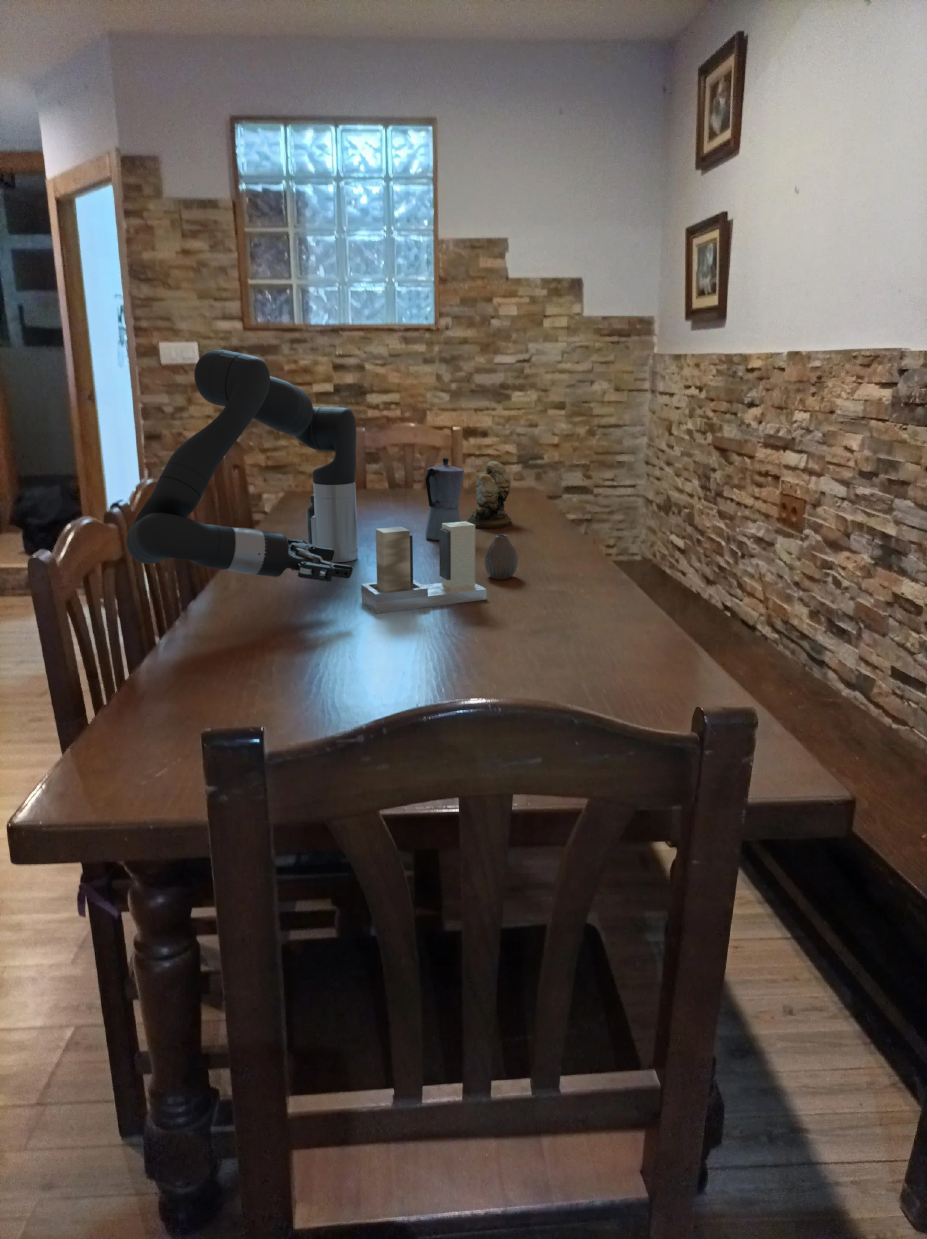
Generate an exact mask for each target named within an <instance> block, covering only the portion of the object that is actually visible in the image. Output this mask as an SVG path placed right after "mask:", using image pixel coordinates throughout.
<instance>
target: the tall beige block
mask: <svg viewBox="0 0 927 1239" xmlns="http://www.w3.org/2000/svg"><path fill="white" fill-rule="evenodd" d="M410 533H411V530H409V529H408V528H405V527H403V526H394V527H392V526H391V527H381V528H375V547H376V548H375V554H376V555H375V557H376V582H377V591H378V592H387V591H396V590H405V589H411V584H413V580H414V568H413V567H414V556H413V555H414V554H413V553H414V551H413V548H414V547H413V545H414V544H413V539H414V538H413V535H412V534H410Z"/></svg>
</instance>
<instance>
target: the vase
mask: <svg viewBox="0 0 927 1239" xmlns="http://www.w3.org/2000/svg"><path fill="white" fill-rule="evenodd" d="M518 563H519V556H518V552H517V549H516V548H515V546H514V545H513V543H512V542H511V541H510V538H509V537H508V535H506V534H496V535H495V537H494V539H493V540H492V541H491V543H490V545H488V547H487V549H486V551H485V554H484V567H485V571H486V573H487V574H488V575H489V576H490V578H492V579H495V580H508V579H511V578H512V577H513V576H514V574H516V571H517V569H518V565H519V564H518Z"/></svg>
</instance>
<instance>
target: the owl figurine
mask: <svg viewBox="0 0 927 1239" xmlns="http://www.w3.org/2000/svg"><path fill="white" fill-rule="evenodd" d="M507 472H508V471H507V469H506V468H505V465H503V464H502V463H501V462H499V461H497V460H491V461H489V462H488V463H487V464H486V466H485V471H484V473H480V474H479V475H478V476H477V480H476V488H475V489H474V490H475V494H476V503H477V506H476V508H475V510H474V511H472V514H471V516H470V517H469V518H468V519H467V520H466V521H467V522H469V523H472V524H474V525H475V529H481V530H496V529H502V528H506V527H509V526H510V525H511V524H512V518H511V517H510V516H509V515H508V513H507V512H506V511H505V503H504V502H507V498H508V496H509V495H510V494H509V493H510V491H511V490H510V488H511V477H510V475H508V473H507Z"/></svg>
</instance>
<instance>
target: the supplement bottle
mask: <svg viewBox="0 0 927 1239" xmlns="http://www.w3.org/2000/svg"><path fill="white" fill-rule="evenodd" d="M309 503H310V505H309V506H308V507H307V508H306V525H307V529H306V530H307V544H312V529H311V517H312V516H315V510H314V493H311V494H310V495H309Z"/></svg>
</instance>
